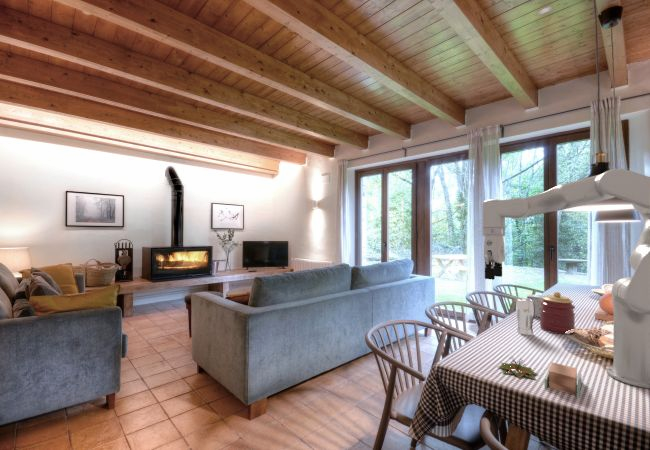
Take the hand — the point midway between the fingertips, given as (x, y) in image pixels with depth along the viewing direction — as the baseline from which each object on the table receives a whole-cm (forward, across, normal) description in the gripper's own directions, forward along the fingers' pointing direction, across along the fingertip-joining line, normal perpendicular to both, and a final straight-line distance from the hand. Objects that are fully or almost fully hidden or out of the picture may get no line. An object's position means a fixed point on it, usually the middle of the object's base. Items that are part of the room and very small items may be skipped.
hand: (493, 277), depth 115 cm
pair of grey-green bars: (+28, -12, -22) cm, 38 cm away
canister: (+28, +50, -13) cm, 59 cm away
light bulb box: (+28, +73, -2) cm, 78 cm away
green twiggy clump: (+29, -11, -10) cm, 33 cm away
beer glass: (+28, +34, -4) cm, 44 cm away
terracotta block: (+28, -13, -22) cm, 38 cm away
